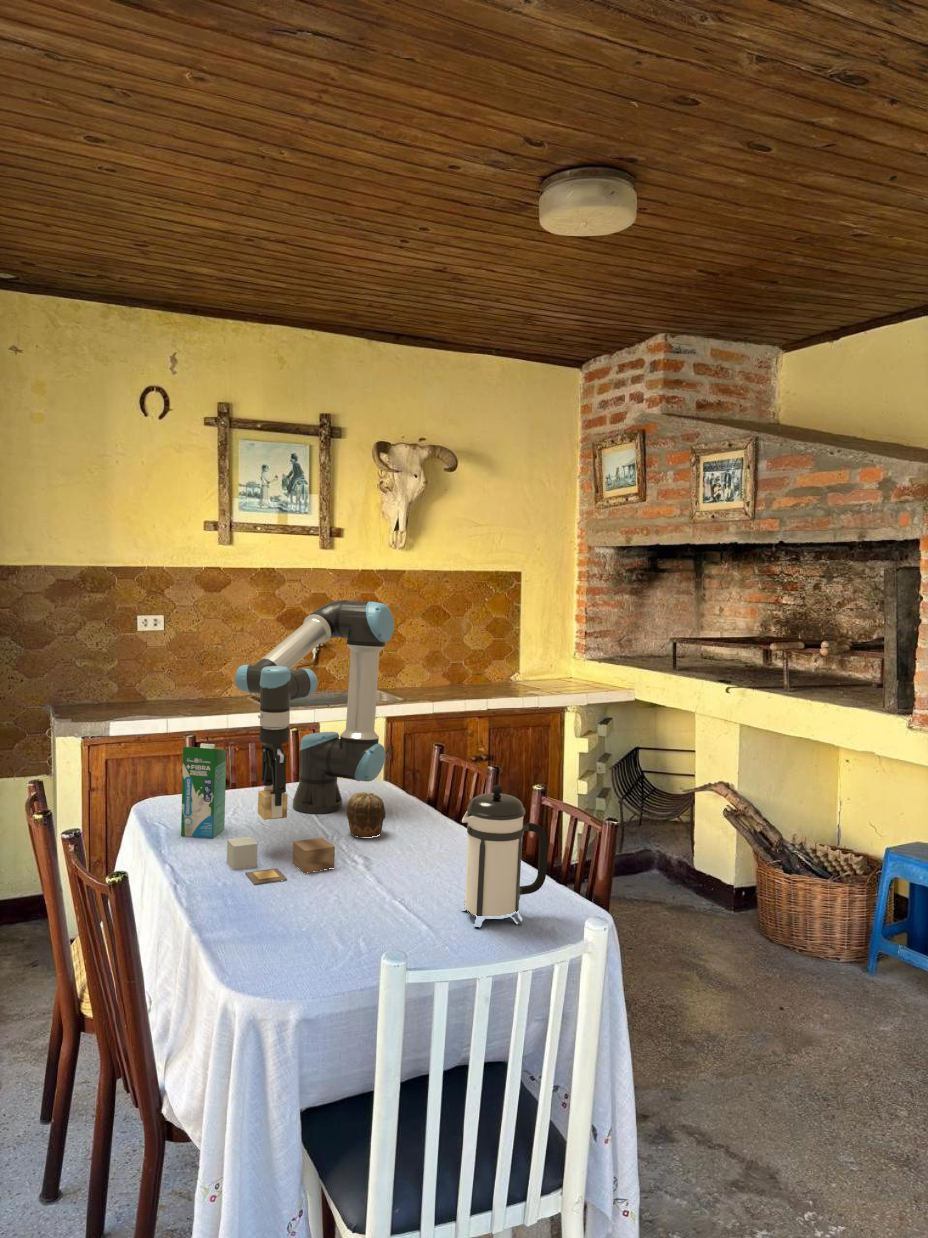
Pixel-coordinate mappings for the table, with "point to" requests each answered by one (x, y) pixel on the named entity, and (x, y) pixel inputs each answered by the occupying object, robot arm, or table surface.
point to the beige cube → (242, 853)
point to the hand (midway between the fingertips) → (272, 813)
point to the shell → (365, 814)
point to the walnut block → (313, 855)
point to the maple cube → (269, 804)
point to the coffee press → (498, 854)
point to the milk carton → (203, 791)
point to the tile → (265, 876)
